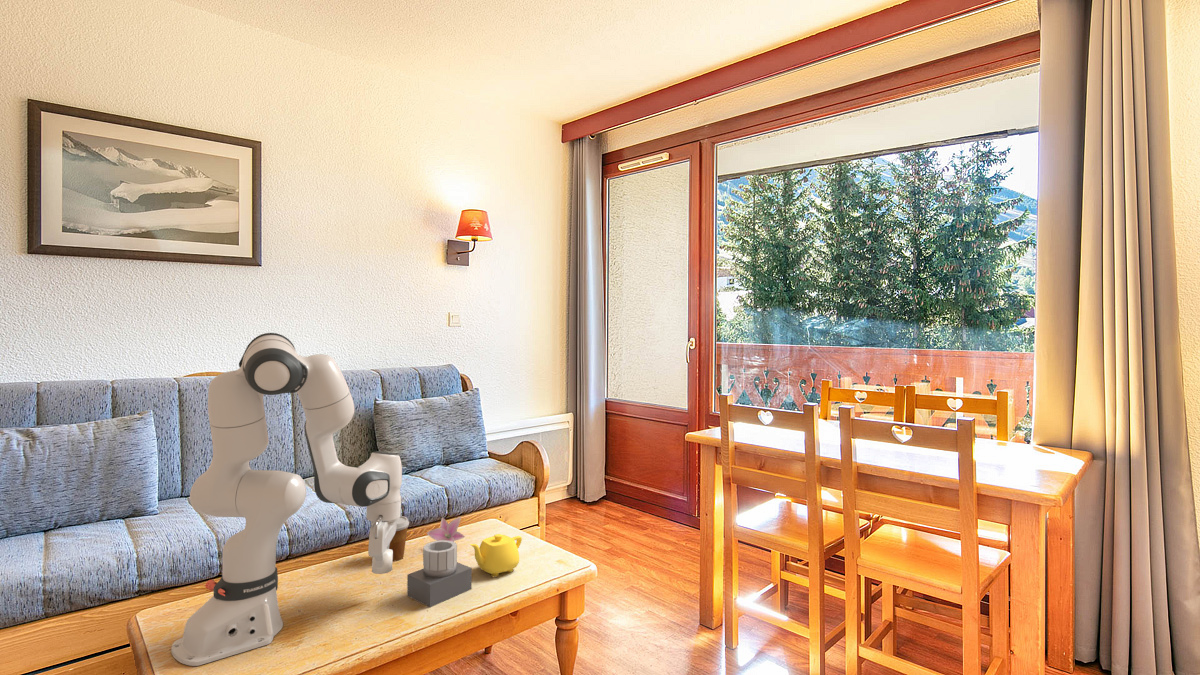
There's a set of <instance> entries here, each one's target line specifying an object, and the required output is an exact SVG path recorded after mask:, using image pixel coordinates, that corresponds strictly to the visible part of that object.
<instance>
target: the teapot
mask: <svg viewBox="0 0 1200 675" xmlns="http://www.w3.org/2000/svg"><path fill="white" fill-rule="evenodd" d="M522 540H523V538H522V536H521V535H515V536H513V537H510V536H508V535H506V534H501V533H498V534H497V533H496V534H494V535H493V536H489V537H486V538H484V539H483V540H482V541H481V543H480V545H478V544H476V543H470V544H469V545H470V546H472V548H473V550H474V559H475V561H476V564H477V565H478V567H479V568H480V569H481V570H482V571H483V570H484V571H483V572H486V573H488V574H491V576H492V577H493V576H496V577H498V575H499V574H501V573H506V572H507V573H512V572H514V569H515V568H517V567H518V565H519V563H520V553H519V548H520V546H521V544H522ZM511 571H512V572H511Z"/></svg>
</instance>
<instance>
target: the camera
mask: <svg viewBox="0 0 1200 675" xmlns="http://www.w3.org/2000/svg"><path fill="white" fill-rule="evenodd" d="M422 551H423V552H422V557H423V559H422V561H423V562H422V565H423V568H421V569H419V570H415V571H413V572H411V573H408V574H407V577H406V578H407V579H406V580H407V581H406V584H407V585H406V587H407V588H406V589H407V592H406V595H407V597H408V598H411V599H413V600H415V601H417V602H419V603H421V604H423V605H425V606H427V607H429V608H432V607H434V606H436V605H438V604H441V603H443V602H446V601H447V600H450V599H453V598H454V597H456V596H457V597H458V595H459V596H460V595H461V594H463V593H466V592H468V591H470V590H472V583H473V582H472V579H473V578H472V571H473V570H472V567H470V566H468V565H466V564H463V563H460V562H458V545H457V543H456V542H455V541H454V542H452V541H447V540H440V541H437V540H434V541H431V542H427V543H426V544H424V545H423V548H422Z"/></svg>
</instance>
